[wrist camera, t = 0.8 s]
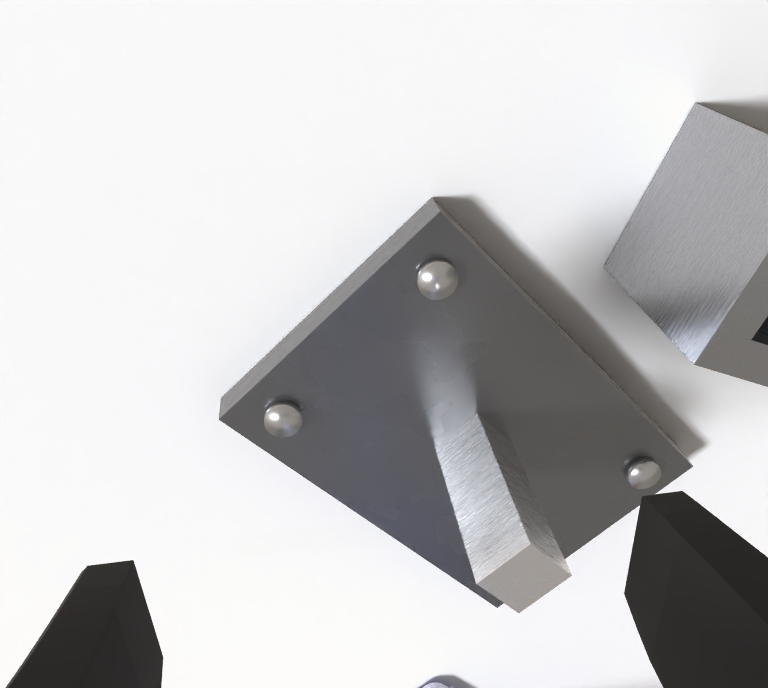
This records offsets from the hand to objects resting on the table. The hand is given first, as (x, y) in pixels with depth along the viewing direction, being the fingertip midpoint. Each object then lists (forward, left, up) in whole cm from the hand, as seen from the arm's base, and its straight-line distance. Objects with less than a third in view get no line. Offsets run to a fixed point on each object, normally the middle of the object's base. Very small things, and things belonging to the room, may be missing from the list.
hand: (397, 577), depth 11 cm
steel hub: (-6, -8, -10) cm, 14 cm away
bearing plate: (-6, +1, -10) cm, 12 cm away
